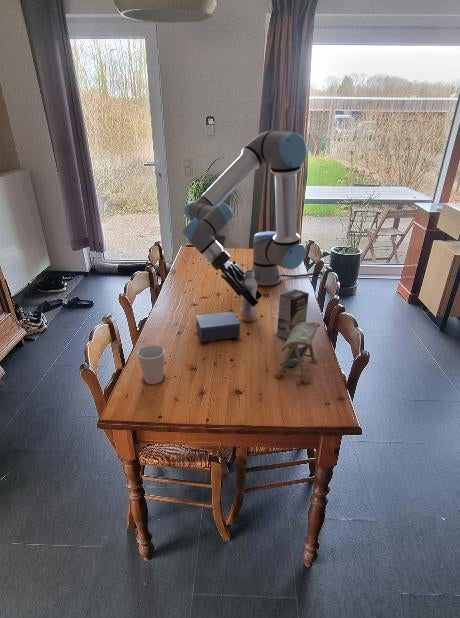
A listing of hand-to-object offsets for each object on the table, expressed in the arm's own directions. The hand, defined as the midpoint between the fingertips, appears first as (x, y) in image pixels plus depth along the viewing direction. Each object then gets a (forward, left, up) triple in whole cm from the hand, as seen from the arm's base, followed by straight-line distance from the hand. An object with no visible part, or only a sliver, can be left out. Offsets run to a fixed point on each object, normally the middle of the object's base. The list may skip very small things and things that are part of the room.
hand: (257, 301), depth 168 cm
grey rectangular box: (+18, +9, -8) cm, 22 cm away
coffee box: (-9, +14, -9) cm, 19 cm away
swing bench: (-2, +38, -9) cm, 39 cm away
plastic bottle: (+3, -2, -9) cm, 9 cm away
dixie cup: (+44, +32, -9) cm, 55 cm away
